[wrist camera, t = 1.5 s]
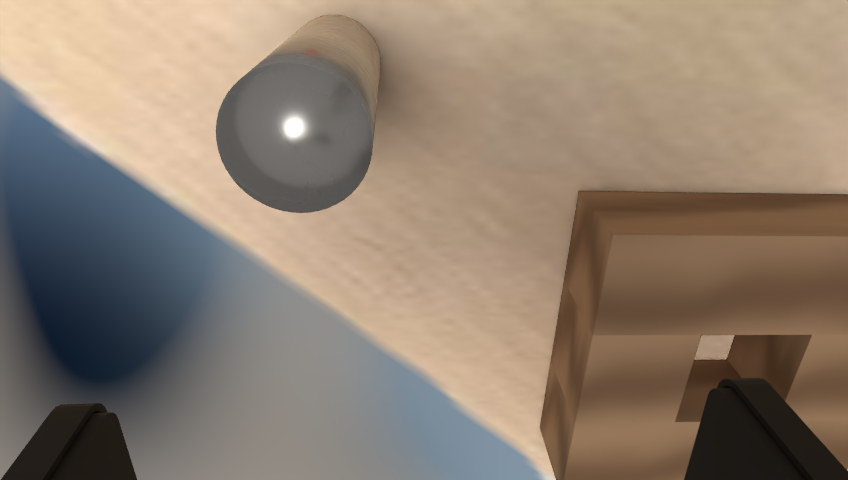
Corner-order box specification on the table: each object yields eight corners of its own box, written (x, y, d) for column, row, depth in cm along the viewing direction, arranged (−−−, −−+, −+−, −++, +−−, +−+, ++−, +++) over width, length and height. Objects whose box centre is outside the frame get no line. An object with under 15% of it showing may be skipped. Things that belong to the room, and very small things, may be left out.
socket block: (579, 191, 29) (612, 234, 24) (879, 194, 30) (965, 237, 25) (539, 427, 36) (560, 494, 32) (783, 424, 37) (837, 488, 33)
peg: (286, 13, 25) (206, 60, 14) (380, 16, 25) (371, 64, 14) (293, 106, 26) (225, 212, 16) (380, 108, 27) (373, 213, 16)
